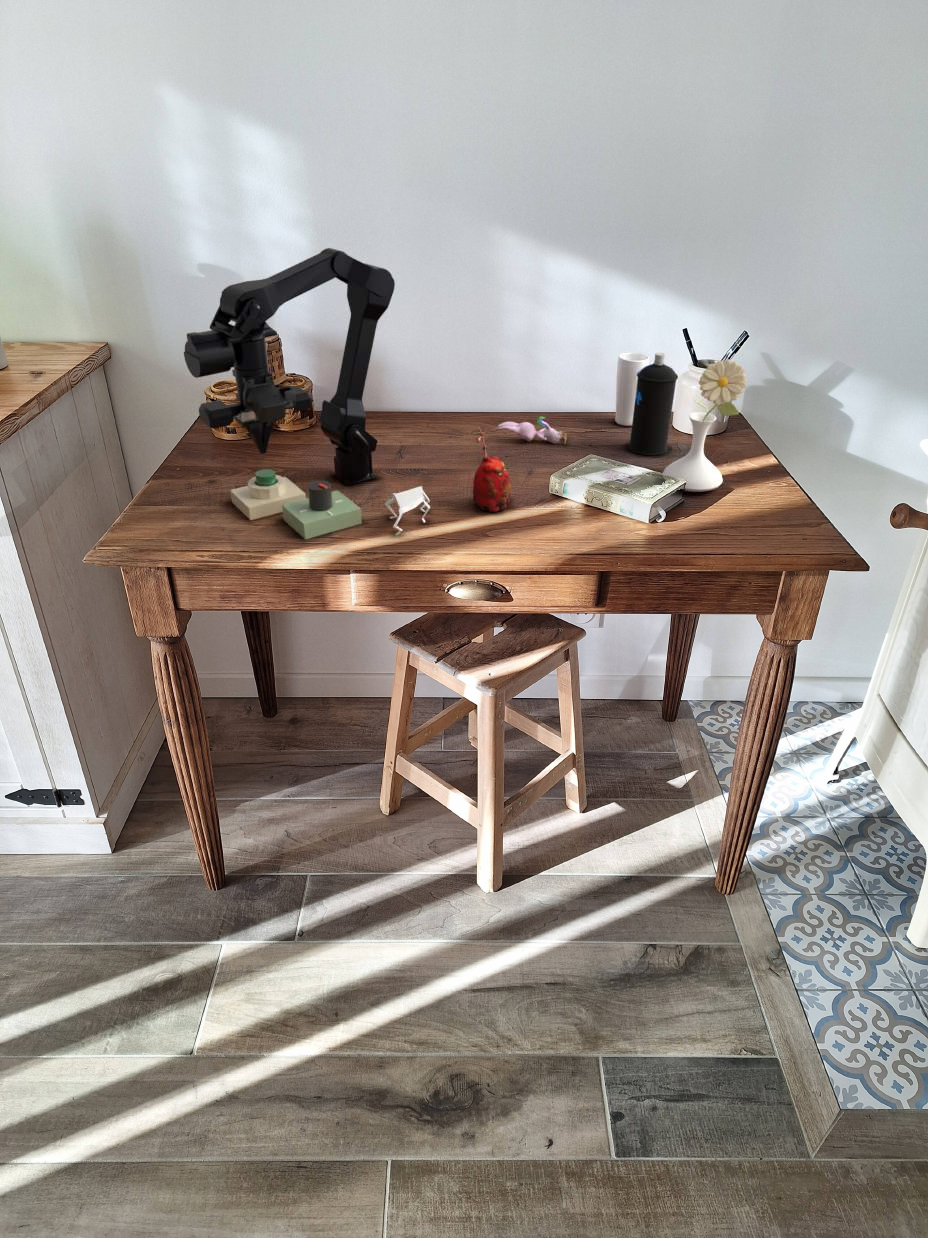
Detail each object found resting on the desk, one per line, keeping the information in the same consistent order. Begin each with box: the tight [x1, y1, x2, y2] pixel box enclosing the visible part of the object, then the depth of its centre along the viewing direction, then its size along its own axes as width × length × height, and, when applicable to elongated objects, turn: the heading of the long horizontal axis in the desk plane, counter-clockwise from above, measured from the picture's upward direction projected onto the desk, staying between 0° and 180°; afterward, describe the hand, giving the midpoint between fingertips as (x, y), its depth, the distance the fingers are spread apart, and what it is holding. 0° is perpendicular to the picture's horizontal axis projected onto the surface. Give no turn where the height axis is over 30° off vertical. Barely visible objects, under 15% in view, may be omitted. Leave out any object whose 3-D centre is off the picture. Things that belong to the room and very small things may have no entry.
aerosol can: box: [627, 352, 679, 457], centre depth 175 cm, size 8×8×20 cm
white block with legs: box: [384, 485, 431, 536], centre depth 149 cm, size 12×8×5 cm
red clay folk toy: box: [472, 426, 512, 513], centre depth 153 cm, size 8×7×15 cm
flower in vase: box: [662, 358, 748, 493], centre depth 158 cm, size 13×11×25 cm
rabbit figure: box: [497, 416, 568, 445], centre depth 182 cm, size 6×6×15 cm
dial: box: [307, 480, 333, 511], centre depth 148 cm, size 4×4×4 cm
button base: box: [229, 474, 307, 521], centre depth 156 cm, size 11×9×4 cm
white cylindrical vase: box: [614, 352, 650, 427], centre depth 190 cm, size 7×7×15 cm
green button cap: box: [254, 468, 277, 486], centre depth 154 cm, size 4×4×2 cm
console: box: [282, 490, 363, 540], centre depth 150 cm, size 11×9×3 cm
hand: (262, 452), depth 152 cm, fingers closed
